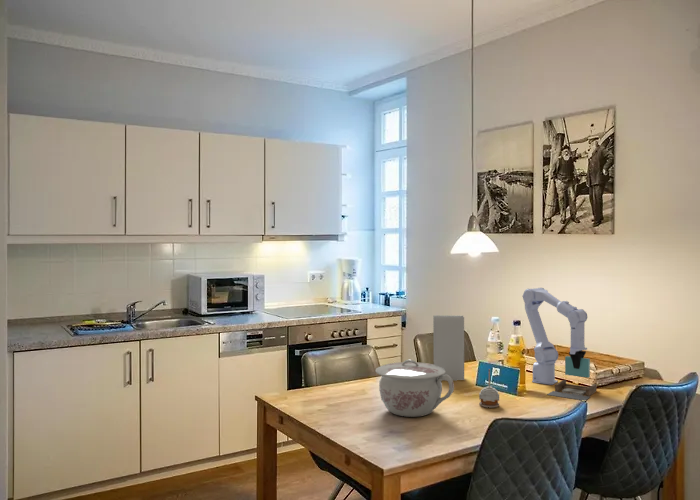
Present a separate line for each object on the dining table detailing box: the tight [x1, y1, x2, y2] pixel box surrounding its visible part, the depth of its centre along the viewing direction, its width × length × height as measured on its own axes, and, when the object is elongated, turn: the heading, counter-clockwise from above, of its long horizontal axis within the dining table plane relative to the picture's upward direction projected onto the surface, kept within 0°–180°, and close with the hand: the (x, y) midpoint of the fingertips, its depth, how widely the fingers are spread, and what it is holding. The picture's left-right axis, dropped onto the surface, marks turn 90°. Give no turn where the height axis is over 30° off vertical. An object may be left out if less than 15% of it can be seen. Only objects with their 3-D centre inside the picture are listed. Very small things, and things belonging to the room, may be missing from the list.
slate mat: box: [546, 390, 591, 401], centre depth 265 cm, size 16×7×1 cm, turn 53°
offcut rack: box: [554, 379, 598, 397], centre depth 273 cm, size 14×11×3 cm
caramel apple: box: [478, 368, 500, 409], centre depth 252 cm, size 8×8×15 cm
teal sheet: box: [564, 355, 591, 379], centre depth 274 cm, size 10×2×8 cm, turn 53°
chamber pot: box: [375, 359, 455, 418], centre depth 244 cm, size 28×28×21 cm
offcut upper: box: [561, 388, 586, 396], centre depth 271 cm, size 9×5×1 cm, turn 49°
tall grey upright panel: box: [432, 315, 465, 381], centre depth 297 cm, size 14×6×30 cm, turn 84°
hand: (577, 368), depth 274 cm, fingers closed on teal sheet, 2 cm apart
